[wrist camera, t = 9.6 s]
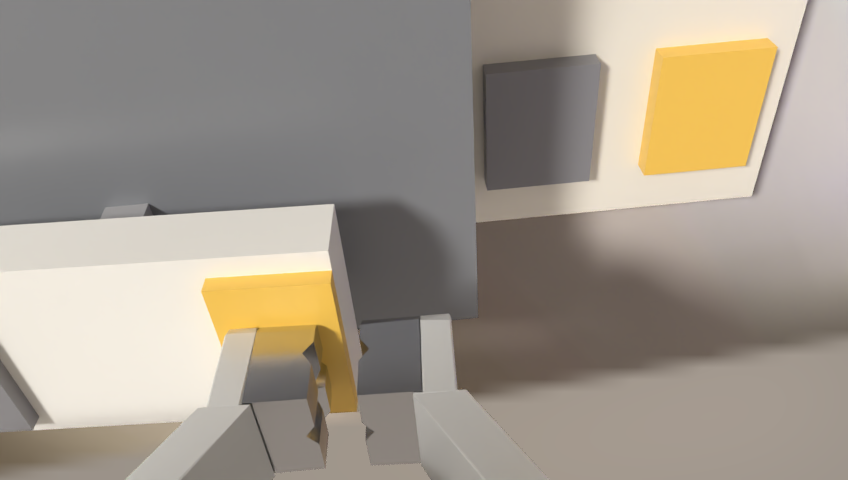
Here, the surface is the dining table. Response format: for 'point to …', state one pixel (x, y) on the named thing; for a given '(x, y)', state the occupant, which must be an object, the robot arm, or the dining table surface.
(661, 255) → the dining table surface
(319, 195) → the switch unit
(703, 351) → the dining table surface
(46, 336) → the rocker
